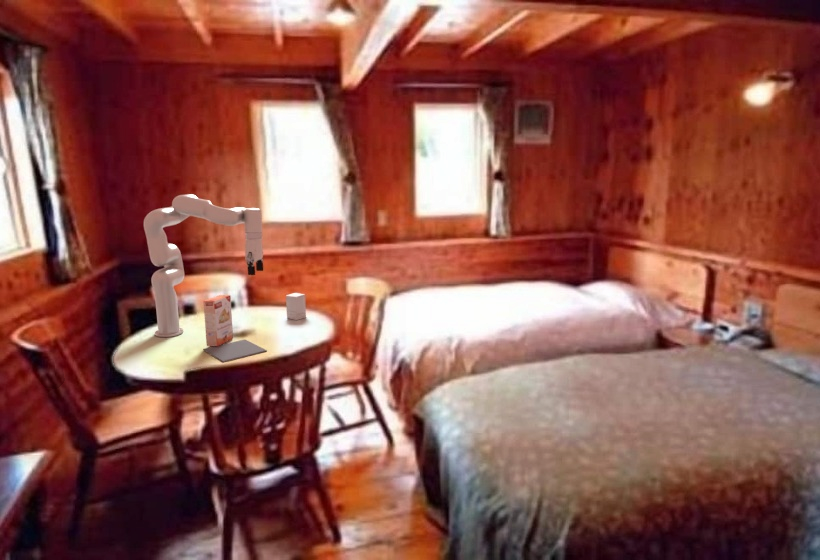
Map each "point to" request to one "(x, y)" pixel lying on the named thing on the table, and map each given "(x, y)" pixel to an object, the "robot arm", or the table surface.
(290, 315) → the supplement box
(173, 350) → the table surface
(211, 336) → the cracker box
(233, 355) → the mat
